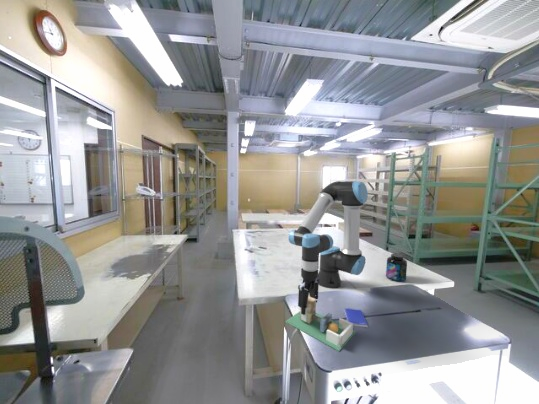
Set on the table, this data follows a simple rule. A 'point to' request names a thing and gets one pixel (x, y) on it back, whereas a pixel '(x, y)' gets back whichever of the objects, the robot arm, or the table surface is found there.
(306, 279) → the robot arm
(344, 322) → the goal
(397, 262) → the container
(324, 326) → the rod slider
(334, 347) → the pitch mat
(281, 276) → the table surface
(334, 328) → the ball
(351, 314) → the blue flat square slab
